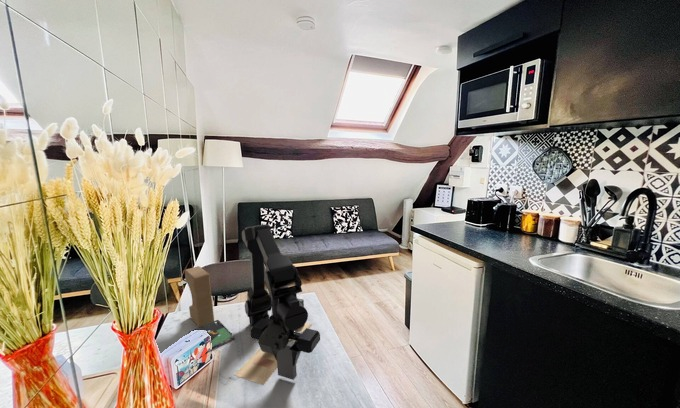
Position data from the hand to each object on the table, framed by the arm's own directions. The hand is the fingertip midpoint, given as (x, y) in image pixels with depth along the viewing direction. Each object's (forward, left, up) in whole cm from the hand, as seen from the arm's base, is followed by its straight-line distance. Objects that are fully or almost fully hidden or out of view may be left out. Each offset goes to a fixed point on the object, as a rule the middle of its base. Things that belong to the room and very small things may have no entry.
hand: (286, 362), depth 76 cm
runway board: (-10, +10, -6) cm, 16 cm away
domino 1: (0, 0, -4) cm, 4 cm away
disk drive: (-35, +7, -7) cm, 36 cm away
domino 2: (-10, +23, -5) cm, 26 cm away
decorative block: (-48, +15, -7) cm, 51 cm away
